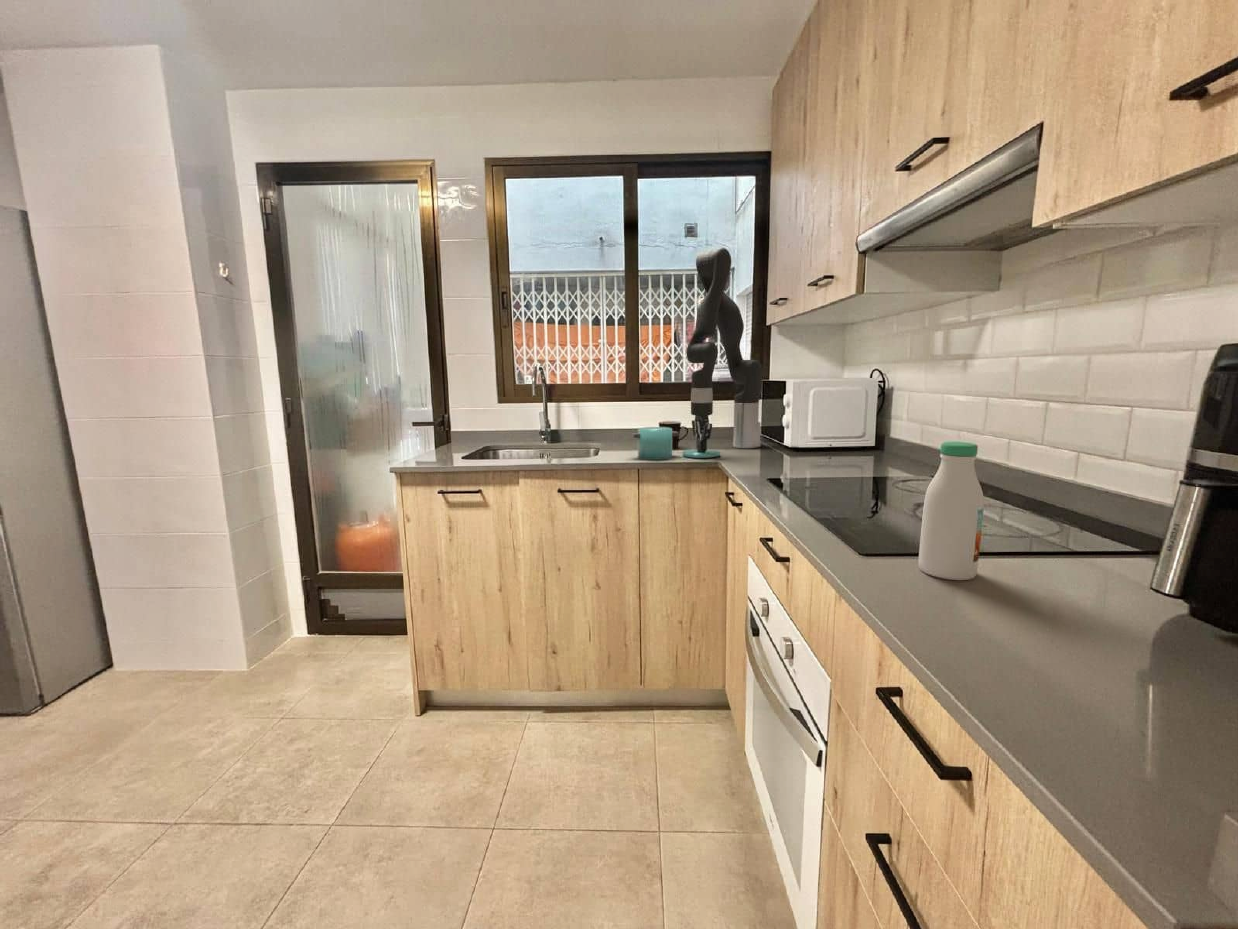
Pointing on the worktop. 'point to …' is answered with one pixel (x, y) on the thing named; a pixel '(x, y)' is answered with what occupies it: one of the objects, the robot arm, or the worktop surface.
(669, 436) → the pot
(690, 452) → the lid
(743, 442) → the robot arm
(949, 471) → the milk bottle
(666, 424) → the coffee mug
